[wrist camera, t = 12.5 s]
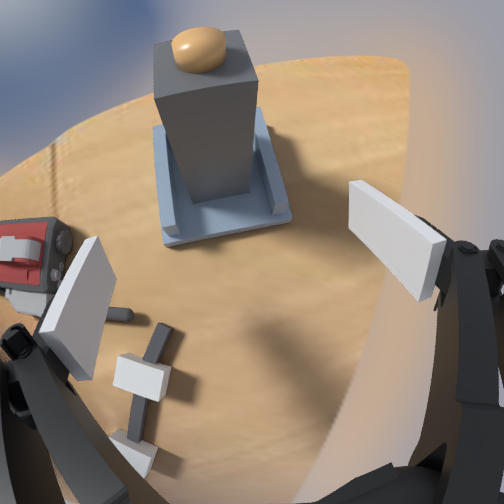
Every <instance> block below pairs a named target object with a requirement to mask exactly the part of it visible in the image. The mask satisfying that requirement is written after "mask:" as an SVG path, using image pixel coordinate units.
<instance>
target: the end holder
mask: <svg viewBox="0 0 504 504" xmlns="http://www.w3.org/2000/svg"><path fill="white" fill-rule="evenodd" d="M153 144H154V159H155V172H156V183H157V194H158V203H159V212H160V221H161V229H162V237H163V244H164V245H165V246H166V247H171V246H175V245H180V244H185V243H190V242H194V241H199V240H204V239H209V238H214V237H219V236H224V235H229V234H233V233H238V232H244V231H249V230H254V229H259V228H264V227H269V226H274V225H279V224H285V223H290V222H291V220H292V215H291V211H290V207H289V200H288V197H287V193H286V190H285V186H284V183H283V179H282V176H281V172H280V169H279V166H278V162H277V159H276V156H275V152H274V149H273V146H272V143H271V139H270V136H269V133H268V130H267V127H266V124H265V120H264V117H263V114H262V111H261V108H260V107H256V116H255V129H254V141H253V154H252V167H251V180H250V193H246V194H241V195H236V196H230V197H225V198H220V199H215V200H210V201H205V202H200V203H196V204H193V203H192V201H191V198H190V196H189V193H188V190H187V188H186V185H185V183H184V180H183V177H182V175H181V172H180V169H179V167H178V164H177V161H176V159H175V156H174V153H173V150H172V148H171V145H170V142H169V139H168V137H167V134H166V131H165V128H164V126H163V124H162V125H158V126H154V127H153Z"/></svg>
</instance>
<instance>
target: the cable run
mask: <svg viewBox="0 0 504 504" xmlns="http://www.w3.org/2000/svg"><path fill="white" fill-rule="evenodd" d="M172 330H173V328H171V327H169V326H167V325H165V324H163V323H158V324H157V326H156V329H155V331H154V333H153V336H152V338H151V340H150V343H149V345H148V347H147V350H146V352H145V355H144V357H140V356H137V355H134V354H131V353H126V354H122V355H118V359H117V364H116V370H115V376H114V382H113V386H115V387H118V388H121V389H123V390H126V391H128V392H131V393H134V394H133V400H132V406H131V412H130V419H129V426H128V433H127V432H125V431H123V430H121V429H118V430H116V431H115V432H114V433H113V434H112V435H110V436H109V437H108V438H109V439H110V440H111V441H112V443H113V444H114V445H115V446H116V448H117V449H118V450H119V451H120V453H121V454H122V455H123V456H124V457H125V458H126V460H127V461H128V462H129V463H130V464H131V465H132V466H133V468H134V469H135V470H136V471H137V472H138V473H139V474H140V475H141V476H142V477H143V478H145V477H146V475H147V474H148V472H149V471H150V469H151V467H152V465H153V461H154V458H155V455H156V452H157V450H158V447H157V446H155V445H152V444H150V443H148V442H146V441H144V440H142V436H143V430H144V423H145V417H146V411H147V406H148V400H149V399H151V400H154V401H157V402H159V401H160V400H161V399H162V398H163V397H164V396H165V395H166V391H167V386H168V381H169V376H170V372H171V366H168V365H165V364H161V363H159V360H160V358H161V355H162V353H163V351H164V348H165V346H166V344H167V341H168V339H169V337H170V334H171V332H172Z"/></svg>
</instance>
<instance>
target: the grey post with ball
mask: <svg viewBox="0 0 504 504" xmlns="http://www.w3.org/2000/svg"><path fill="white" fill-rule="evenodd" d="M257 91H258V78H257V75H256V73H255V70H254V67H253V65H252V62H251V59H250V57H249V54H248V52H247V49H246V47H245V44H244V42H243V39H242V36H241V34H240V31H239V30H233V31H224V32H222V31H220V30H219V29H216V28H211V27H197V28H192V29H189V30H186V31H183V32H181V33H180V34H178V35H177V36H176V37H175V38H174V39H173V40H171V41H166V42H162V43H158V44H154V100H155V103H156V106H157V109H158V111H159V114H160V117H161V120H162V123H163V126H164V128H165V131H166V134H167V137H168V139H169V142H170V145H171V148H172V150H173V153H174V156H175V159H176V161H177V164H178V167H179V169H180V172H181V175H182V177H183V180H184V183H185V185H186V188H187V190H188V193H189V196H190V198H191V201H192V203H193V204H196V203H200V202H205V201H210V200H215V199H220V198H225V197H230V196H236V195H241V194H246V193H250V180H251V167H252V154H253V141H254V129H255V116H256V104H257Z"/></svg>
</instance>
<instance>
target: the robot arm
mask: <svg viewBox="0 0 504 504" xmlns="http://www.w3.org/2000/svg"><path fill="white" fill-rule="evenodd" d="M349 229H350V230H351V231H352V232H353V233H354V234H355V235H356V236H357V237H358V238H359V239H360V240H361V241H362V242H363V243H364V244H365V245H366V246H367V247H368V248H369V249H370V250H371V251H372V252H373V253H374V254H375V255H376V256H377V257H378V258H379V259H380V260H381V261H382V263H383V264H384V265H385V266H386V267H387V268H388V269H389V270H390V271H391V272H392V273H393V274H394V275H395V276H396V277H397V279H398V280H399V281H400V282H401V283H402V284H403V285H404V286H405V288H406V289H407V290H408V291H409V292H410V293H411V294H412V295H413V297H414V298H415V299H416V300H417V301H418V302H420V301H422V300H424V299H427V298H429V297H431V296H432V293H433V290H434V286H435V285H436V286H437V287H438V288H439V289H440V292H439V295H438V298H437V302H436V304H435V307H434V311H436V309H437V307H438V314H437V315H438V316H437V333H436V345H435V355H434V364H433V372H432V379H431V386H430V392H429V398H428V404H427V409H426V414H425V418H424V423H423V427H422V432H421V436H420V439H419V442H418V444H417V446H416V448H415V450H414V452H413V454H412V456H411V458H410V461H409V464H408V466H402V467H395V468H394V467H393V465H392V463H389V464H387V465H385V466H382V467H380V468H378V469H376V470H374V471H371V472H369V473H367V474H364V475H362V476H359V477H357V478H354V479H353V480H351V481H350V482H348V483H347V484H345V485H344V486H342V487H340V488H339V489H337V490H336V491H334V492H332V493H331V494H329V495H328V496H326V497H324V498H322V499H321V500H319V501H316V502H313V503H299V504H504V493H502V492H500V487H501V482H502V477H503V471H504V407H500V405H499V401H498V400H499V376H498V367H499V370H500V374H501V379H502V383H503V387H504V294H503V295H502V293H501V288H502V286H503V284H504V241H503V240H498V239H496V240H492V241H491V243H490V246H489V250H482V251H481V250H479V249H478V247H477V246H475V245H474V244H472V243H470V242H467V241H456V242H454V241H453V240H452V239H450V238H449V237H447V236H446V235H445V234H444V233H442V232H441V231H440V230H439V229H436V227H435V226H433V225H431V224H430V223H429V222H428V221H426V220H425V219H424V218H421V217H419V216H416V215H414V214H412V213H410V212H409V211H408V210H406V209H405V208H403V207H402V206H400V205H399V204H398V203H396V202H395V201H393V200H392V199H390V198H389V197H387V196H386V195H384V194H383V193H381V192H380V191H378V190H377V189H375V188H373V187H372V186H370V185H369V184H367V183H366V182H364V181H362V180H357V181H350V182H349ZM116 280H117V279H116V277H115V274H114V272H113V270H112V268H111V266H110V263H109V261H108V259H107V256H106V254H105V252H104V249H103V247H102V245H101V242H100V240H99V237H98V236H95V237H91V238H88V239H85V241H84V243H83V244H82V246H81V248H80V249H79V251H78V253H77V255H76V257H75V258H74V260H73V262H72V264H71V266H70V268H69V269H68V271H67V273H66V275H65V277H64V279H63V281H62V283H61V285H60V287H59V289H58V291H57V293H56V295H54V296H53V297H52V298H51V299H50V300H49V302H48V303H47V305H46V307H45V309H44V311H43V312H44V313H42V315H41V320H39V322H38V324H37V327H36V329H35V331H34V334H33V336H31V335H30V333H29V332H28V331H27V329H26V328H25V326H24V325H23V324H21V323H18V324H14V325H13V326H11V327H10V328H9V329H8V330H6V331H5V333H4V334H3V336H2V338H1V341H0V346H1V347H2V349H3V350H4V351H5V352H6V353H7V355H8V356H9V357H10V358H11V359H12V360H11V361H8V362H6V363H3V362H2V360H1V359H0V504H65V501H64V498H63V496H62V493H61V490H60V487H59V485H58V482H57V479H56V476H55V472H54V469H53V466H52V462H51V459H50V455H51V457H52V459H53V461H54V462H55V464H56V466H57V468H58V470H59V471H60V473H61V475H62V476H63V478H64V480H65V481H66V483H67V485H68V486H69V488H70V489H71V491H72V492H73V494H74V496H75V497H76V499H77V500H78V501H79V503H80V504H169V503H168V502H167V501H166V500H165V499H164V498H162V497H161V496H160V495H159V494H158V493H157V492H156V491H155V490H154V489H153V488H152V487H151V486H150V485H149V484H148V483H147V482H146V481H145V480H144V478H143V477H142V476H141V475H140V474H139V473H138V472H137V471H136V470H135V469H134V468H133V466H132V465H131V464H130V463H129V462H128V461H127V460H126V458H125V457H124V456H123V455H122V454H121V453H120V451H119V450H118V449H117V448H116V446H115V445H114V444H113V443H112V441H111V440H110V439H109V438H108V436H107V435H106V434H105V432H104V431H103V430H102V428H101V427H100V426H99V424H98V423H97V422H96V420H95V419H94V417H93V416H92V414H91V413H90V412H89V410H88V409H87V407H86V406H85V404H84V403H83V401H82V400H81V398H80V397H79V395H78V393H77V392H76V390H75V389H74V387H73V385H72V384H71V383H70V382H69V381H68V376H69V372H70V373H71V374H72V376H73V377H74V378H75V379H76V380H77V381H83V380H93V374H94V369H95V364H96V359H97V354H98V350H99V345H100V341H101V336H102V332H103V328H104V324H105V320H106V316H107V312H108V308H109V305H110V301H111V297H112V294H113V290H114V287H115V284H116ZM10 407H11V408H12V411H11V409H10ZM48 451H49V452H48ZM49 453H50V455H49Z"/></svg>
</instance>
